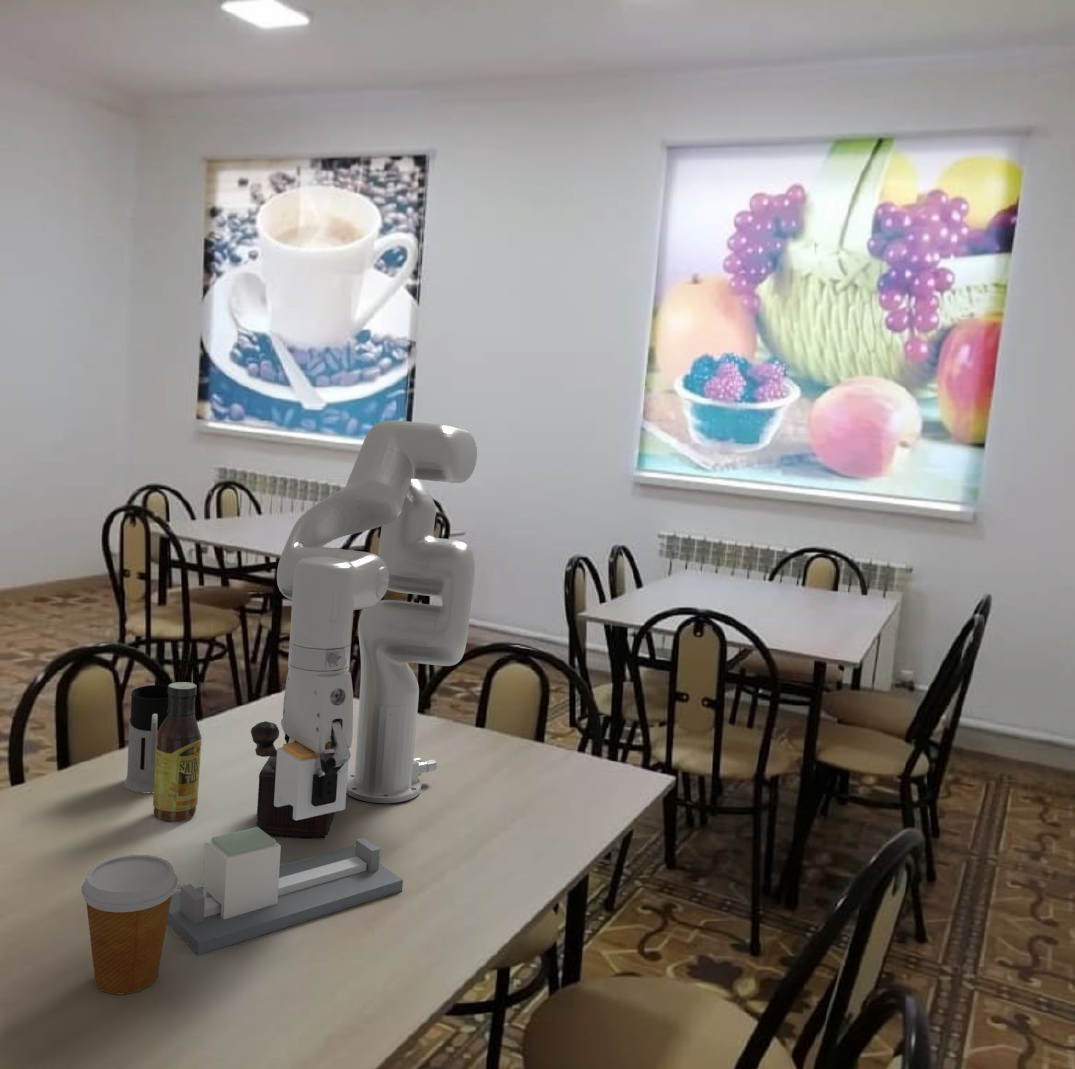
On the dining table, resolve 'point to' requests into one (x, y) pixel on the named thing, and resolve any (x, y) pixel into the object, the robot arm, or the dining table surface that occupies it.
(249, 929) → the rail board
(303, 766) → the module
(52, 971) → the dining table surface
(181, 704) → the sauce bottle
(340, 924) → the dining table surface
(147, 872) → the disposable coffee cup
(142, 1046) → the dining table surface
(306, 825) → the pepper mill
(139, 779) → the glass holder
